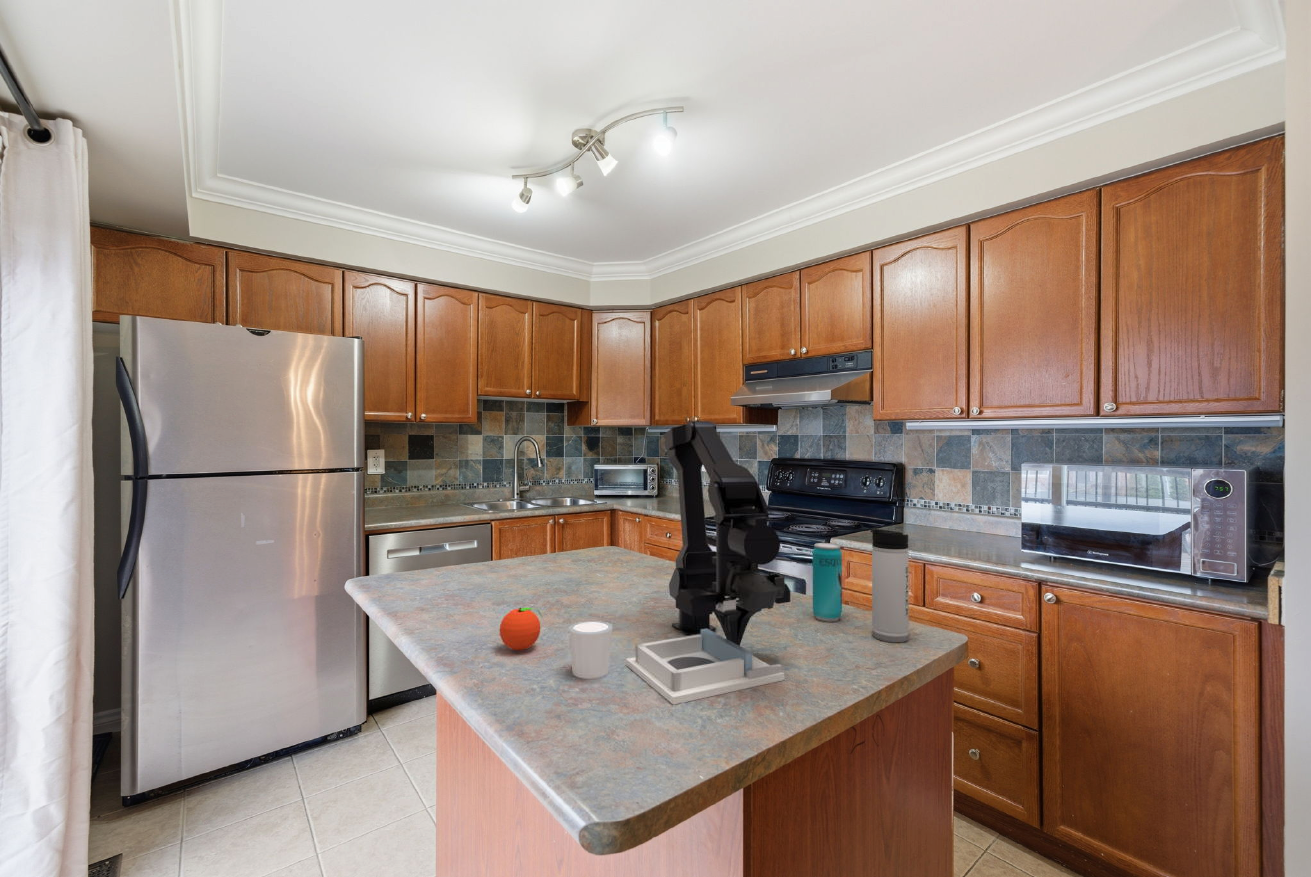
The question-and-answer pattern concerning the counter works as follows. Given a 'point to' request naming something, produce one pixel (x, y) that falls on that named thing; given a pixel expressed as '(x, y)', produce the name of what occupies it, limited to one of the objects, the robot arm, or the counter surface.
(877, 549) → the travel mug
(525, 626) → the clementine
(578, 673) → the white cup
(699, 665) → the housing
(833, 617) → the beverage can
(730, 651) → the gate
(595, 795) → the counter surface
